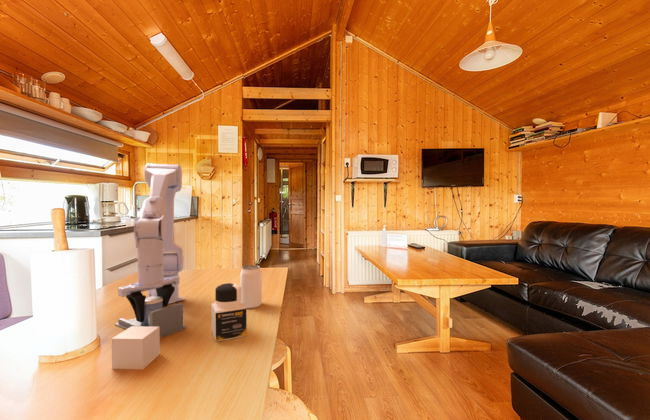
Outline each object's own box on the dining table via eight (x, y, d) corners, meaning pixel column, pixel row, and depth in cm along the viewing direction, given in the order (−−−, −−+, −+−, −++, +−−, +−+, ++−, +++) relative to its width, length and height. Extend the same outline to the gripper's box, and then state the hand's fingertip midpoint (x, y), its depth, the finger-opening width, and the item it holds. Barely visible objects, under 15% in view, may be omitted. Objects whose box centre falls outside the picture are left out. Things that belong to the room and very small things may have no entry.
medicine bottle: (215, 342, 72) (215, 290, 71) (211, 331, 78) (211, 283, 78) (246, 336, 75) (246, 286, 75) (240, 326, 81) (240, 280, 81)
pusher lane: (115, 324, 82) (114, 300, 82) (150, 314, 89) (149, 292, 89) (150, 340, 73) (150, 313, 72) (186, 327, 80) (186, 303, 80)
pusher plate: (148, 328, 77) (148, 311, 77) (165, 323, 81) (165, 306, 81) (150, 329, 77) (150, 312, 77) (167, 324, 80) (167, 307, 80)
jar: (135, 326, 79) (135, 300, 79) (155, 319, 84) (154, 295, 84) (148, 329, 77) (148, 304, 77) (167, 322, 82) (167, 298, 81)
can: (256, 309, 94) (256, 269, 94) (236, 308, 95) (236, 268, 95) (264, 302, 100) (264, 265, 100) (246, 301, 101) (246, 264, 101)
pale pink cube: (131, 354, 66) (131, 326, 66) (159, 354, 66) (159, 326, 66) (111, 369, 60) (111, 338, 60) (142, 369, 60) (142, 338, 60)
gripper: (128, 272, 72) (129, 330, 72) (186, 262, 84) (186, 312, 85) (113, 268, 76) (114, 324, 76) (170, 259, 88) (171, 307, 88)
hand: (151, 317), depth 81 cm, fingers closed on jar, 5 cm apart
